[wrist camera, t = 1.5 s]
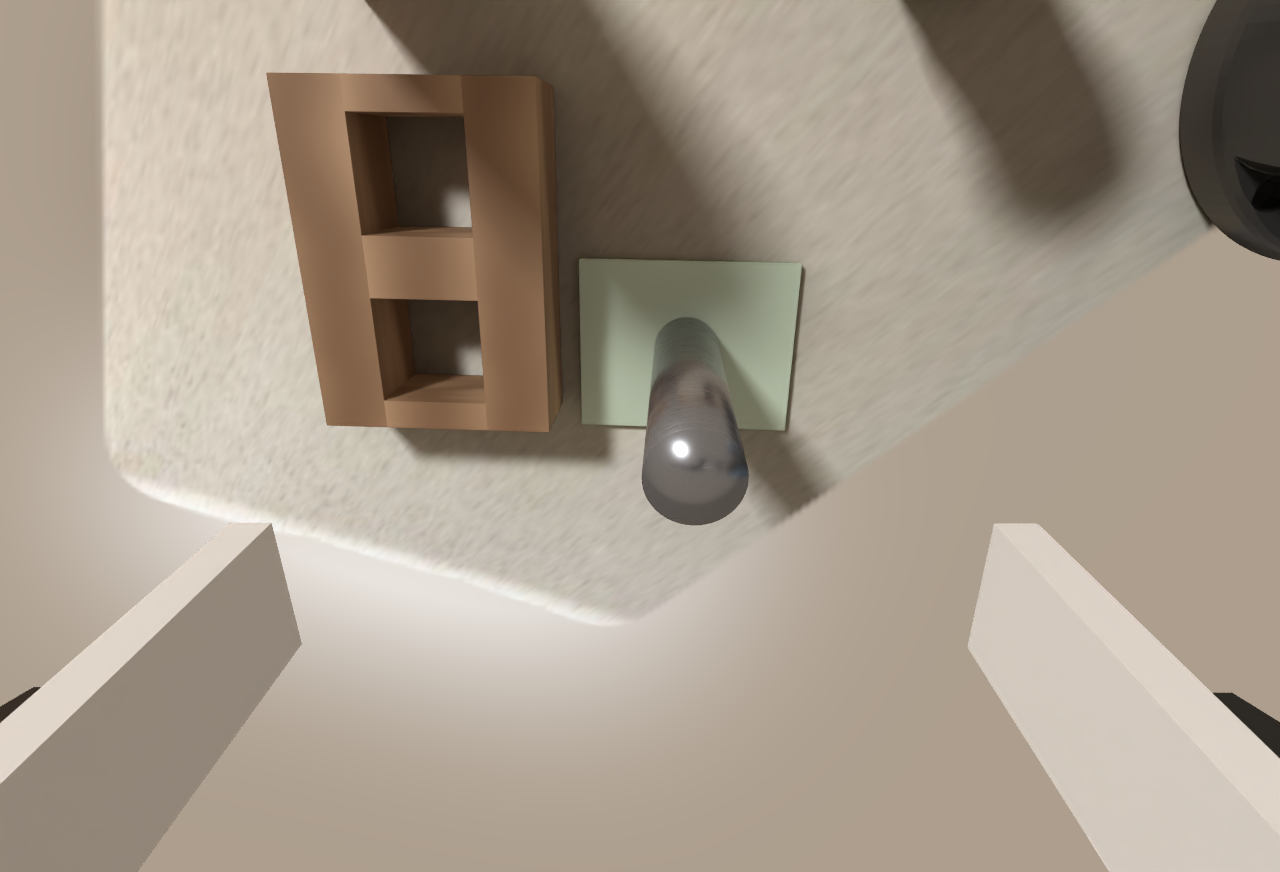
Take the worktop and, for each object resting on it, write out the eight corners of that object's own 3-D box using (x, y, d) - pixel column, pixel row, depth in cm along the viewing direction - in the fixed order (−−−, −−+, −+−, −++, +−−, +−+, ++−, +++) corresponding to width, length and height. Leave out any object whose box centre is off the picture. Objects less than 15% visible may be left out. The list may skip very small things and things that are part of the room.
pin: (720, 317, 31) (752, 430, 19) (716, 379, 33) (744, 526, 20) (655, 316, 32) (642, 427, 19) (653, 378, 33) (641, 523, 20)
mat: (800, 262, 31) (801, 264, 30) (783, 427, 34) (784, 430, 33) (580, 258, 31) (578, 259, 31) (583, 421, 34) (582, 424, 34)
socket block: (553, 86, 28) (535, 75, 25) (562, 401, 34) (548, 432, 30) (318, 83, 29) (266, 72, 25) (364, 396, 34) (326, 425, 30)
